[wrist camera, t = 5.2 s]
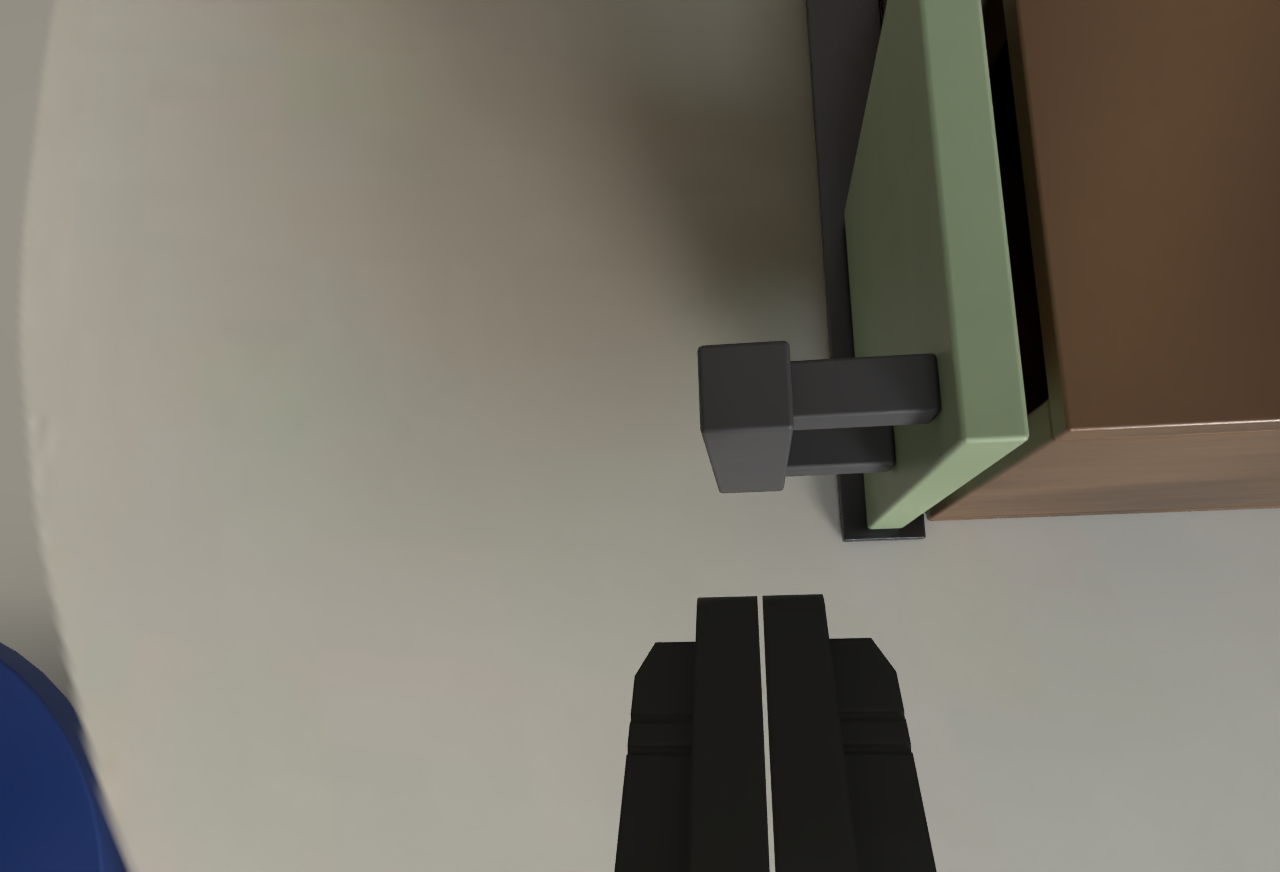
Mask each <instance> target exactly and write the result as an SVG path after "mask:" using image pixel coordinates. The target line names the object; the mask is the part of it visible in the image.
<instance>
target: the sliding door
mask: <svg viewBox="0 0 1280 872" xmlns="http://www.w3.org/2000/svg"><path fill="white" fill-rule="evenodd" d="M844 215H845V229H846V242H847V256H848V270H849V283H850V297H851V310H852V324H853V337H854V351H855V358H839V359H821V360H804V361H790V348H789V344H788V342H786V341H772V342H756V343H739V344H722V345H706V346H701V347H699V349H698V377H699V403H700V429H701V433H702V436H703V439H704V443H705V446H706V449H707V453H708V456H709V459H710V462H711V466H712V469H713V472H714V476H715V479H716V482H717V485H718V489H719V491H720V492H721V493H741V492H765V491H781V490H783V488H784V482H785V476H806V475H829V474H852V473H864V487H865V500H866V514H867V526H868V528H870V529H891V528H902V527H904V526H906V525H907V524H908V523H910V522H911V521H913V520H914V519H916V518H917V517H918V516H920V515H921V514H923V513H924V512H926V511H927V510H928V509H930V508H931V507H933V506H934V505H935V504H937V503H938V502H940V501H941V500H943V499H944V498H945V497H947V496H948V495H950V494H951V493H953V492H954V491H955V490H957V489H958V488H960V487H961V486H963V485H964V484H965V483H967V482H968V481H970V480H971V479H973V478H974V477H975V476H977V475H978V474H980V473H981V472H983V471H984V470H985V469H987V468H988V467H990V466H991V465H993V464H994V463H995V462H997V461H998V460H1000V459H1001V458H1003V457H1004V456H1005V455H1007V454H1008V453H1010V452H1011V451H1013V450H1014V449H1015V448H1017V447H1018V446H1020V445H1021V444H1023V443H1024V442H1025V441H1027V440H1028V437H1029V428H1028V419H1027V410H1026V401H1025V392H1024V383H1023V374H1022V365H1021V356H1020V347H1019V338H1018V329H1017V320H1016V311H1015V302H1014V293H1013V284H1012V275H1011V266H1010V257H1009V248H1008V239H1007V230H1006V221H1005V212H1004V203H1003V194H1002V185H1001V176H1000V167H999V158H998V149H997V140H996V131H995V122H994V113H993V104H992V95H991V86H990V77H989V68H988V59H987V50H986V41H985V32H984V23H983V14H982V5H981V0H887V5H886V9H885V14H884V19H883V24H882V29H881V34H880V39H879V44H878V49H877V54H876V59H875V64H874V69H873V74H872V79H871V84H870V89H869V93H868V98H867V103H866V108H865V113H864V118H863V123H862V128H861V133H860V138H859V143H858V148H857V153H856V158H855V163H854V168H853V173H852V177H851V182H850V187H849V192H848V197H847V202H846V207H845V212H844Z"/></svg>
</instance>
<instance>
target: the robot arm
mask: <svg viewBox="0 0 1280 872" xmlns="http://www.w3.org/2000/svg"><path fill="white" fill-rule="evenodd" d="M763 619H764V642H765V665H766V687H767V709H768V730H769V750H770V771H771V791H772V812H773V832H774V853H775V872H936V867H935V862H934V857H933V852H932V847H931V842H930V837H929V832H928V827H927V822H926V817H925V812H924V807H923V802H922V797H921V792H920V787H919V782H918V777H917V772H916V767H915V762H914V758H913V753H912V752H911V743H910V738H909V733H908V728H907V723H906V719H905V717H904V708H903V703H902V698H901V693H900V688H899V683H898V678H897V673H896V671H895V669H894V668H893V667H892V665H891V664H890V663H889V661H888V660H887V659H886V657H885V656H884V655H883V653H882V652H881V651H880V649H879V648H878V647H877V645H876V644H875V643H874V641H873V640H872V639H871V638H847V639H829V634H828V627H827V619H826V611H825V603H824V598H823V595H822V594H814V595H774V596H763ZM615 872H770V870H769V847H768V824H767V801H766V778H765V755H764V732H763V709H762V688H761V667H760V646H759V625H758V605H757V596H746V597H706V598H698V600H697V618H696V642H658V643H655V644H654V646H653V647H652V649H651V651H650V652H649V654H648V656H647V657H646V659H645V660H644V662H643V664H642V665H641V667H640V669H639V670H638V672H637V673H636V675H635V679H634V689H633V698H632V708H631V722H630V727H629V737H628V755H627V756H626V766H625V776H624V785H623V795H622V805H621V814H620V824H619V834H618V844H617V853H616V863H615Z"/></svg>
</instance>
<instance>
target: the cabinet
mask: <svg viewBox="0 0 1280 872" xmlns="http://www.w3.org/2000/svg"><path fill="white" fill-rule="evenodd" d="M886 5H887V0H882V6H883V17H884V14H885V9H886ZM981 5H982V14H983V23H984V32H985V41H986V50H987V59H988V68H989V77H990V86H991V95H992V104H993V113H994V122H995V131H996V140H997V149H998V158H999V167H1000V176H1001V185H1002V194H1003V203H1004V212H1005V221H1006V230H1007V239H1008V248H1009V257H1010V266H1011V275H1012V284H1013V293H1014V302H1015V311H1016V320H1017V329H1018V338H1019V347H1020V356H1021V365H1022V374H1023V383H1024V392H1025V401H1026V410H1027V419H1028V428H1029V437H1028V440H1027V441H1025V442H1024V443H1023V444H1021V445H1020V446H1018V447H1017V448H1015V449H1014V450H1013V451H1011V452H1010V453H1008V454H1007V455H1005V456H1004V457H1003V458H1001V459H1000V460H998V461H997V462H995V463H994V464H993V465H991V466H990V467H988V468H987V469H985V470H984V471H983V472H981V473H980V474H978V475H977V476H975V477H974V478H973V479H971V480H970V481H968V482H967V483H965V484H964V485H963V486H961V487H960V488H958V489H957V490H955V491H954V492H953V493H951V494H950V495H948V496H947V497H945V498H944V499H943V500H941V501H940V502H938V503H937V504H935V505H934V506H933V507H931V508H930V509H928V510H927V511H926V513H927V519H928V520H930V521H940V520H966V519H993V518H1020V517H1047V516H1074V515H1101V514H1128V513H1155V512H1182V511H1209V510H1236V509H1263V508H1280V0H981ZM806 10H807V24H808V39H809V54H810V68H811V83H812V98H813V112H814V127H815V142H816V157H817V171H818V186H819V201H820V215H821V230H822V245H823V259H824V274H825V289H826V303H827V318H828V333H829V348H830V359H839V358H855V351H854V337H853V324H852V310H851V297H850V283H849V270H848V256H847V242H846V229H845V215H844V212H845V207H846V202H847V197H848V192H849V187H850V182H851V177H852V173H853V168H854V163H855V158H856V153H857V148H858V143H859V138H860V133H861V128H862V123H863V118H864V113H865V108H866V103H867V98H868V93H869V89H870V84H871V79H872V74H873V69H874V64H875V59H876V54H877V49H878V44H879V39H880V34H881V29H882V26H881V14H880V3H879V0H806ZM838 480H839V495H840V509H841V524H842V539H843V541H844V542H852V541H881V540H909V539H923V538H925V525H924V514H921V515H920V516H918V517H917V518H916V519H914V520H913V521H911V522H910V523H908V524H907V525H906V526H904V527H902V528H891V529H870V528H868V526H867V514H866V500H865V487H864V473H852V474H838Z"/></svg>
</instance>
